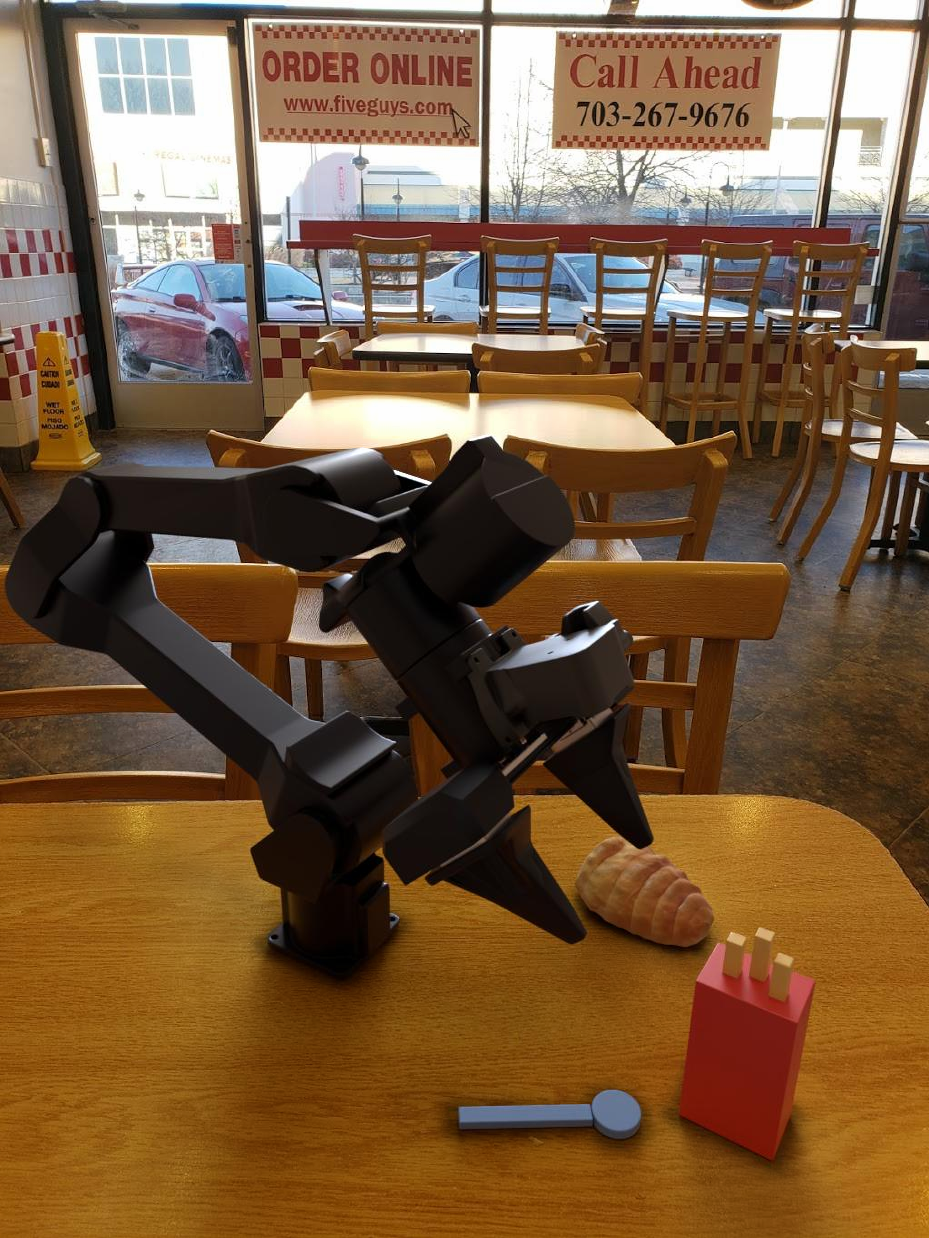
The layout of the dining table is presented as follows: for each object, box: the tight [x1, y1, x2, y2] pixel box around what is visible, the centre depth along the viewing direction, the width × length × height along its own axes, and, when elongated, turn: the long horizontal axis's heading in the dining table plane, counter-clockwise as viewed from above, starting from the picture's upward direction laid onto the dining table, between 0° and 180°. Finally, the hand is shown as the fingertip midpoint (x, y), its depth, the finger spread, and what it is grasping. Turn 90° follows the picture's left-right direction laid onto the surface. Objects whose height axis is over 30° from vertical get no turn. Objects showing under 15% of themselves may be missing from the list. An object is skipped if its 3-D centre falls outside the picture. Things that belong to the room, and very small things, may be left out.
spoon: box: [457, 1089, 642, 1140], centre depth 49 cm, size 10×3×1 cm, turn 92°
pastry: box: [574, 836, 715, 948], centre depth 65 cm, size 9×7×4 cm
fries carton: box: [678, 926, 816, 1162], centre depth 48 cm, size 5×3×12 cm
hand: (616, 889), depth 49 cm, fingers open, 9 cm apart
